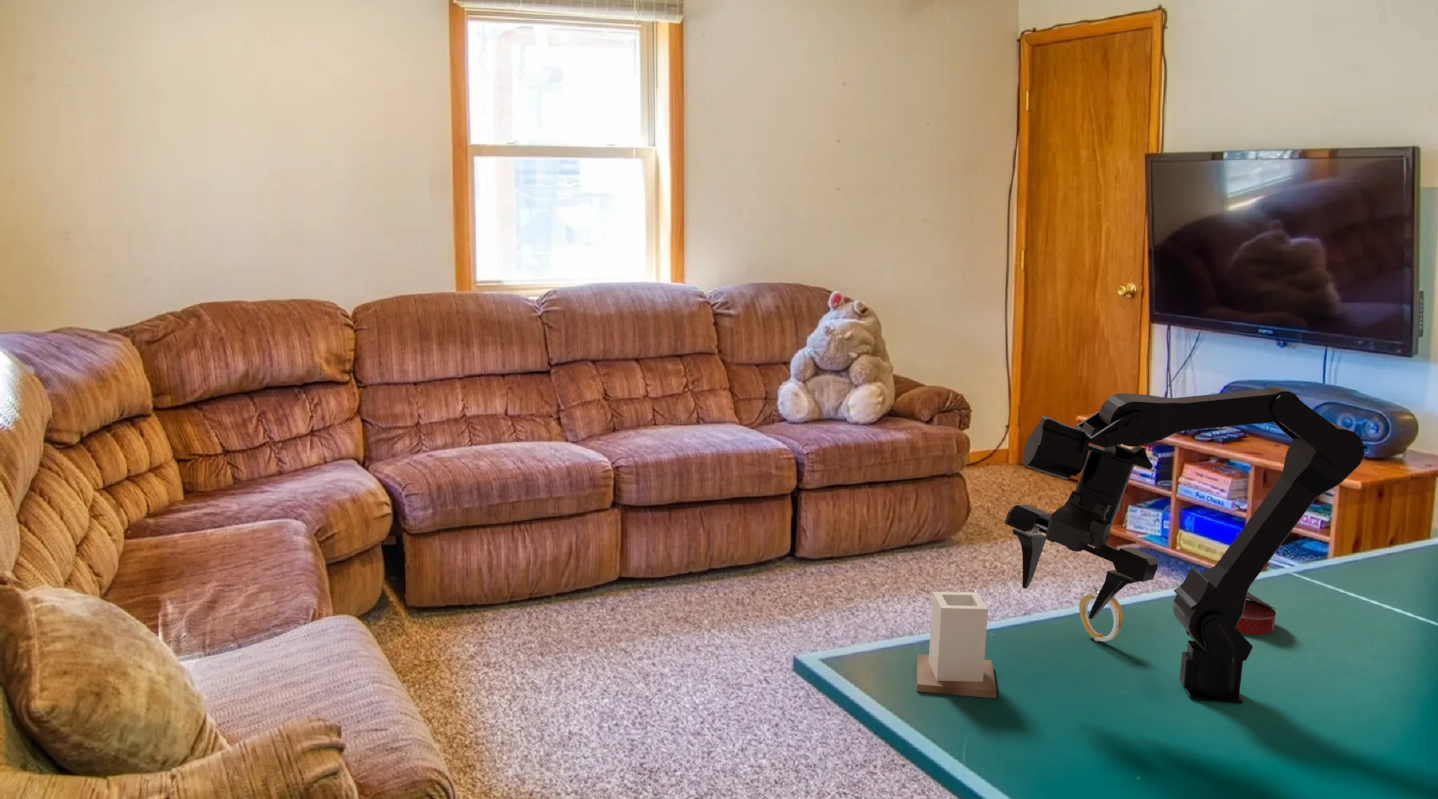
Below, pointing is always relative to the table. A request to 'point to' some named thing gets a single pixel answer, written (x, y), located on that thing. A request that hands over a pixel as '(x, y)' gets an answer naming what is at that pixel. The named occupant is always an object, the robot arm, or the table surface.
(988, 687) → the post stand
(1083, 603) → the ring
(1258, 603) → the canned food
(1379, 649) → the table surface
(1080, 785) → the table surface
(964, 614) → the sleeve
